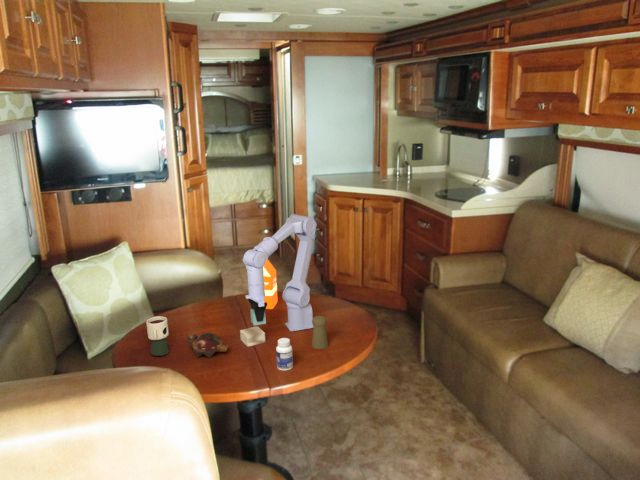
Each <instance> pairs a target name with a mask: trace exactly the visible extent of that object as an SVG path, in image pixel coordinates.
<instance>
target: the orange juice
mask: <svg viewBox="0 0 640 480" xmlns="http://www.w3.org/2000/svg"><path fill="white" fill-rule="evenodd" d="M263 273H264V290H265V299H264V302H267V307H266V309H265V310H273V309H274V308H275V307H276V305H277V303H278V300H279V299H278V284H277V281H278V280H277V269H276V268H275V267H274V266H273V264H272V263H271V262H270V260H269V258H268V259H267V260H266V263H265V265H264V266H263Z"/></svg>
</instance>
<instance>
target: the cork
mask: <svg viewBox="0 0 640 480" xmlns="http://www.w3.org/2000/svg"><path fill="white" fill-rule="evenodd" d="M312 324H313V326H314V327H313V328H312V329H313V330H312V339H311V340H312V341H311V348H313V349H316V350H324V349H326V348H328V347H329V342H328V334H327V330H326V325H327V318H326V317H325V316H324V315H316V316H313V319H312Z"/></svg>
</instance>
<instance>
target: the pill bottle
mask: <svg viewBox="0 0 640 480" xmlns="http://www.w3.org/2000/svg"><path fill="white" fill-rule="evenodd" d="M275 354H276V368H277V369H278V370H279V371H282V372H283V371H284V372H285V371H290V370H292V368H294V358H293V346H292V345H291V339H290V338H288V337H281V338H279V339H278V340H277V346H276V347H275Z"/></svg>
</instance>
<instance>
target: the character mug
mask: <svg viewBox="0 0 640 480" xmlns="http://www.w3.org/2000/svg"><path fill="white" fill-rule="evenodd" d="M145 322H146V331H147V333H146V334H147V338H148V339H149V340H151V342H150V354H151V355H152V356H156V357H159V356H166V355H167V354H169V353H170V346H169V343H168V339H167V337H169V336H170V335H169V324H168V323H169V322H168V318H167V316H163V315H158V316H153V317H150V318H148V319H147V320H146V321H145Z"/></svg>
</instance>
